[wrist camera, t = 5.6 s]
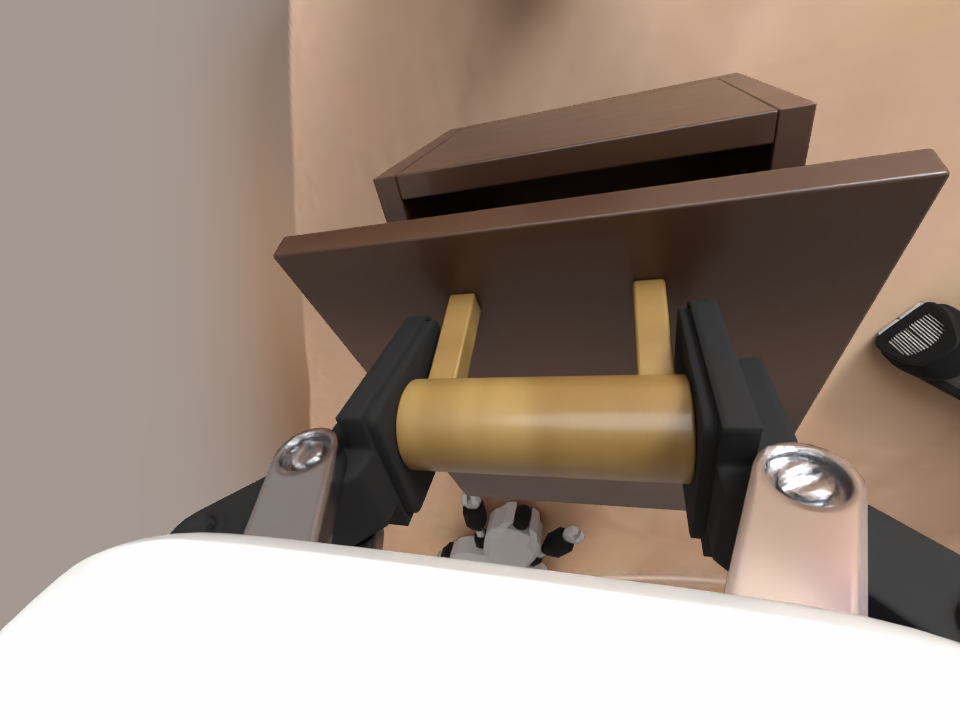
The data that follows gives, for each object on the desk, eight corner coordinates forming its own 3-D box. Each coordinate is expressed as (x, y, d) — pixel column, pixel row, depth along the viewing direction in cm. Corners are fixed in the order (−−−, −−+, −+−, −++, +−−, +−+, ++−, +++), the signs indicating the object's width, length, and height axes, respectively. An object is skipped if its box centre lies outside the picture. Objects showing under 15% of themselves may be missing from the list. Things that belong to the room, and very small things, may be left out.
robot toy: (465, 464, 42) (438, 553, 50) (453, 502, 38) (425, 592, 46) (593, 507, 41) (543, 590, 49) (593, 550, 37) (539, 632, 46)
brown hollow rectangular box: (449, 129, 24) (372, 179, 16) (738, 72, 20) (817, 102, 12) (503, 377, 33) (469, 483, 26) (708, 373, 29) (742, 498, 21)
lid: (283, 235, 12) (174, 413, 9) (933, 146, 8) (1145, 421, 5) (469, 482, 26) (450, 586, 22) (743, 498, 21) (766, 628, 18)
